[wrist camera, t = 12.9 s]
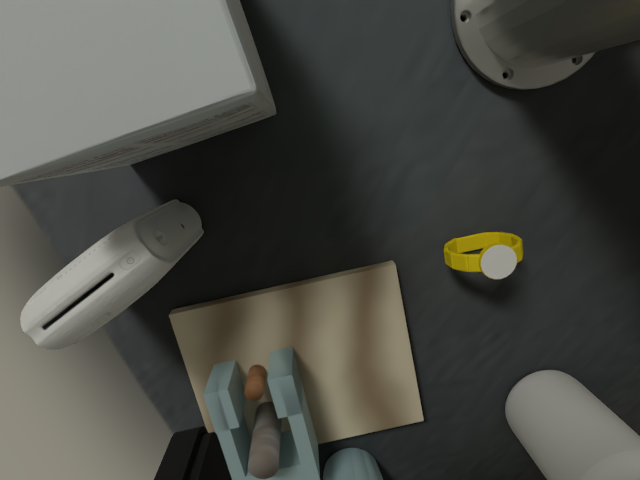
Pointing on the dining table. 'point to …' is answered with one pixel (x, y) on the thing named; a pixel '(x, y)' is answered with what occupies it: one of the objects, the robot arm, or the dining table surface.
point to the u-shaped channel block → (290, 401)
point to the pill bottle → (571, 430)
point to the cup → (351, 466)
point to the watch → (485, 253)
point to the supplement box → (120, 81)
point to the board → (309, 355)
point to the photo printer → (110, 275)
